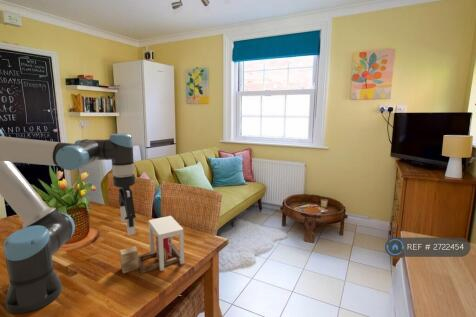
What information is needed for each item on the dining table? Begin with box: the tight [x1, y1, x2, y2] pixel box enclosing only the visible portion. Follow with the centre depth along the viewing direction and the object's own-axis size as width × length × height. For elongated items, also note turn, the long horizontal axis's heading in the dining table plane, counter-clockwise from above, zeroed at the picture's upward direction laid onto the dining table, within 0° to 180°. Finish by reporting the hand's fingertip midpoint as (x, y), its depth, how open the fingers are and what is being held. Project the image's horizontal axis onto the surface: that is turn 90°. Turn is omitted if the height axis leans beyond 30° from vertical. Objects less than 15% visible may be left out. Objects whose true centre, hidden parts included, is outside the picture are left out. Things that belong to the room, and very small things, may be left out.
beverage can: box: [155, 235, 173, 261], centre depth 112 cm, size 6×6×12 cm
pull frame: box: [119, 243, 180, 274], centre depth 109 cm, size 23×11×8 cm, turn 123°
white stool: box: [148, 215, 185, 272], centre depth 112 cm, size 10×16×16 cm, turn 33°
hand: (128, 227), depth 102 cm, fingers open, 13 cm apart
